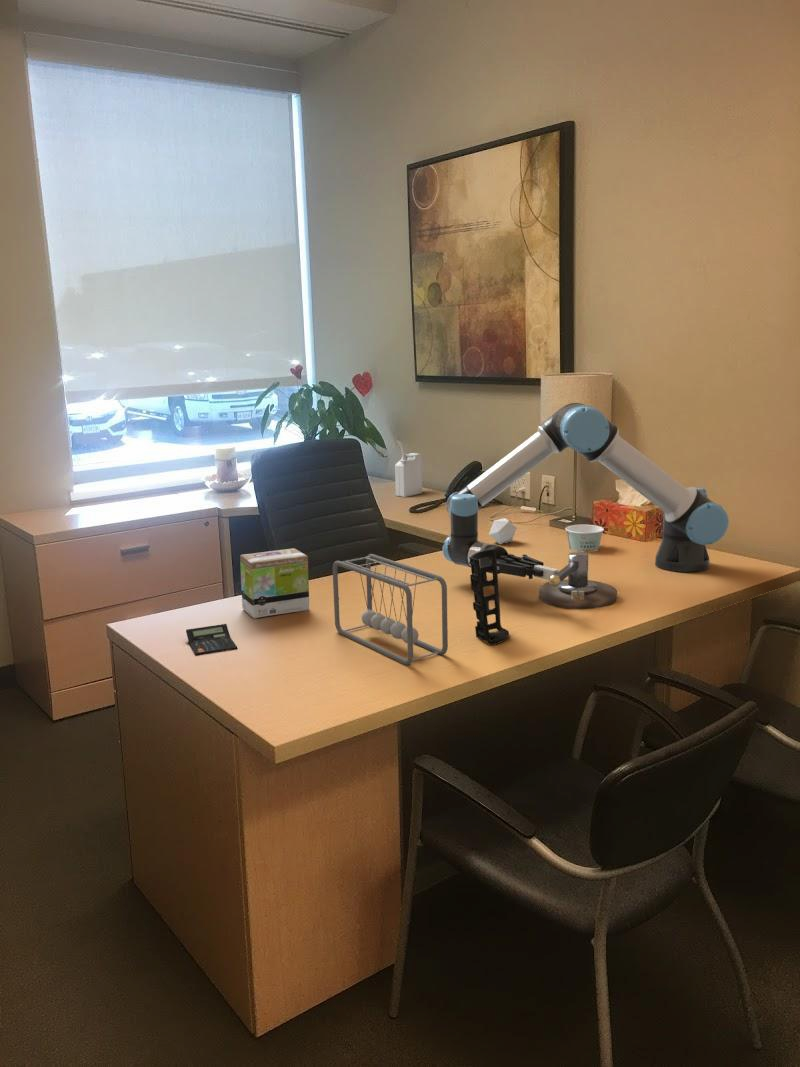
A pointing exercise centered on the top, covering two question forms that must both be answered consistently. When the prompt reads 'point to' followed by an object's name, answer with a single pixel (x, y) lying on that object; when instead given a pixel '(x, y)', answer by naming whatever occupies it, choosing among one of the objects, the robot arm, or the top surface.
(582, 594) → the dial base
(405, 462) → the gas can
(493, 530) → the die
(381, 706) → the top surface
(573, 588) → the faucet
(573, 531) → the food container
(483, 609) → the holder
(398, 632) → the newton's cradle
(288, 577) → the tea box
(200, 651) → the calculator
